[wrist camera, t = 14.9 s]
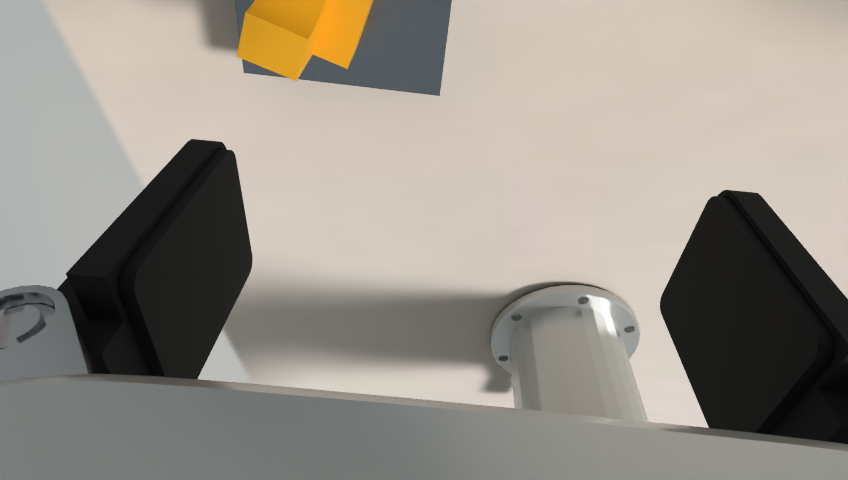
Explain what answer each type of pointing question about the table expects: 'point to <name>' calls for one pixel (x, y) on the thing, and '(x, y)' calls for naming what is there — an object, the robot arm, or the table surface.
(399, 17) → the slate stand
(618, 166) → the table surface
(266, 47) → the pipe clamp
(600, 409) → the robot arm
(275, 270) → the table surface
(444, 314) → the table surface
